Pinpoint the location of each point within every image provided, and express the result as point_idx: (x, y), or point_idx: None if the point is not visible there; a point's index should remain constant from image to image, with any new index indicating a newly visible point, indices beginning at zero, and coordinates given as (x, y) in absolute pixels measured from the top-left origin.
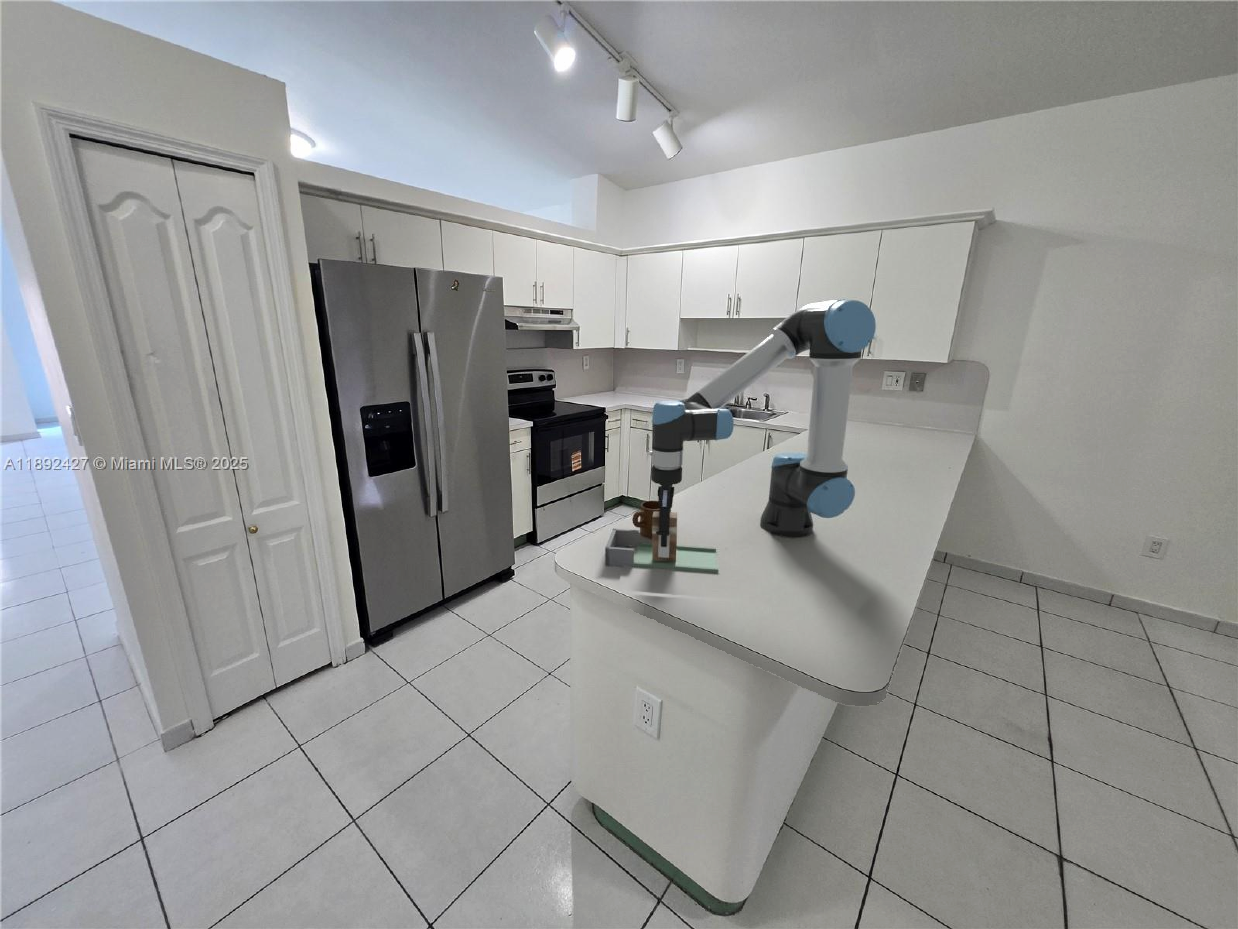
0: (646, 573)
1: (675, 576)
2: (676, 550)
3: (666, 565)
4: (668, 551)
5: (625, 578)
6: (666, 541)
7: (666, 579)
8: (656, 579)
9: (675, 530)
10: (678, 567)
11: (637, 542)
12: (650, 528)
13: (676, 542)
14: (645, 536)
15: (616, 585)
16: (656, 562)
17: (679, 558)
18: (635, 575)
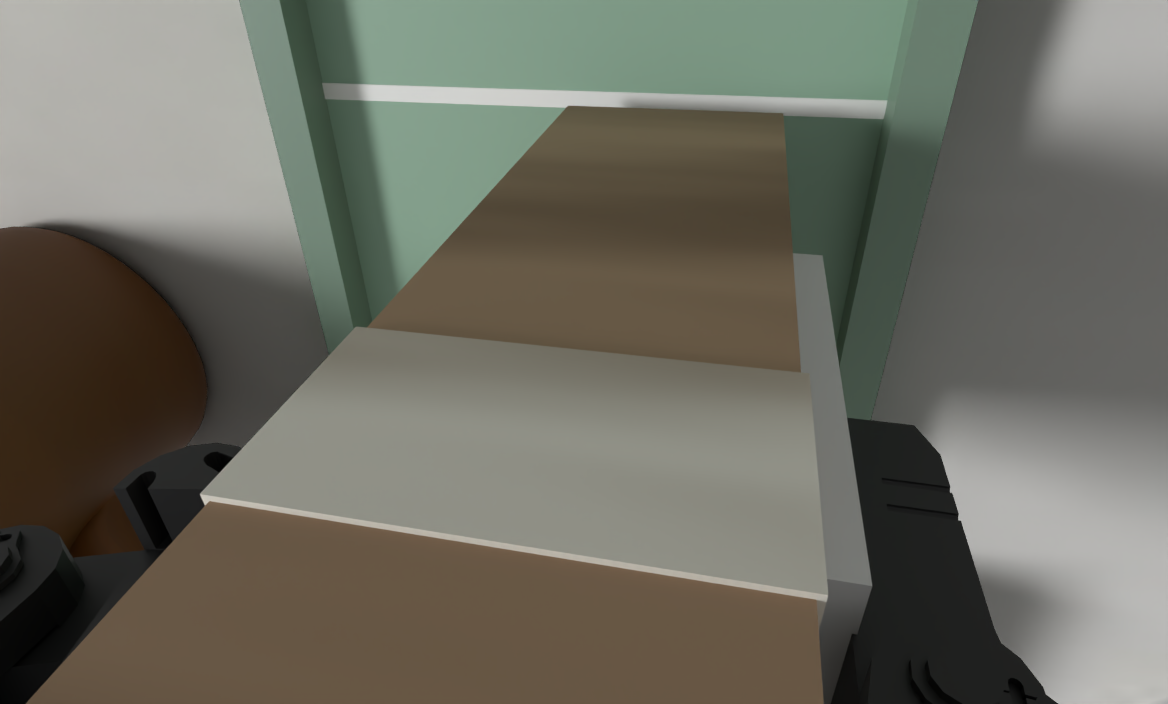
0: (948, 433)
1: (1083, 97)
2: (589, 136)
3: (903, 254)
4: (828, 317)
5: (1034, 600)
6: (957, 530)
7: (1150, 224)
8: (1121, 342)
9: (813, 520)
10: (956, 68)
11: None
12: (114, 452)
13: (675, 224)
14: (197, 425)
15: (1164, 667)
16: None
17: (589, 46)
18: (982, 525)
